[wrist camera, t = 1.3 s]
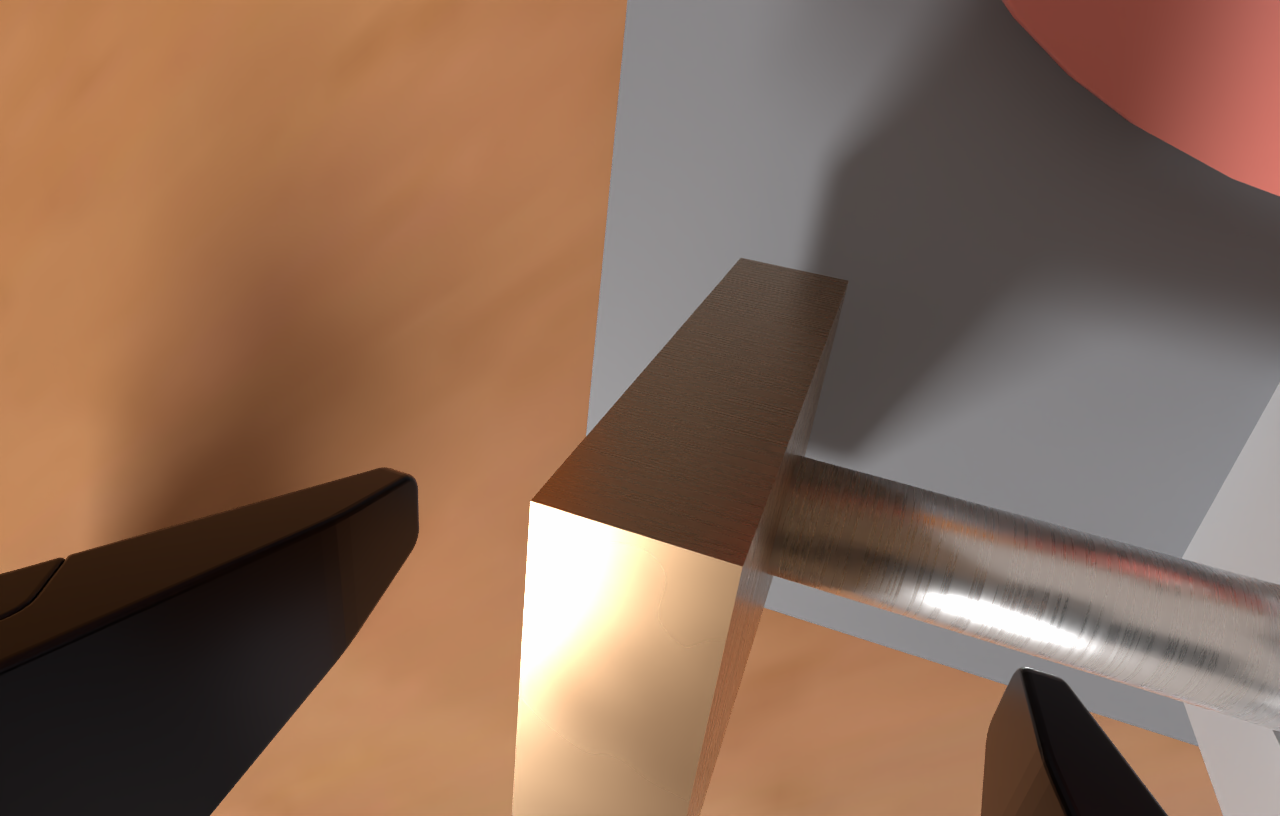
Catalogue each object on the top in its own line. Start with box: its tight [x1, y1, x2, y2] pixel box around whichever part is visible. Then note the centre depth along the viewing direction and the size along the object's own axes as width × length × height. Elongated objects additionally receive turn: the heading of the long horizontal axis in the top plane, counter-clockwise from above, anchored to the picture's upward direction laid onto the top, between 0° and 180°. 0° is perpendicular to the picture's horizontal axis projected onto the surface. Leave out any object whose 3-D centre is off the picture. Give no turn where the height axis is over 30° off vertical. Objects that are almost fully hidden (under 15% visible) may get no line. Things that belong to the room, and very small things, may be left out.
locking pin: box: [512, 258, 1280, 816], centre depth 8 cm, size 13×5×7 cm, turn 82°
